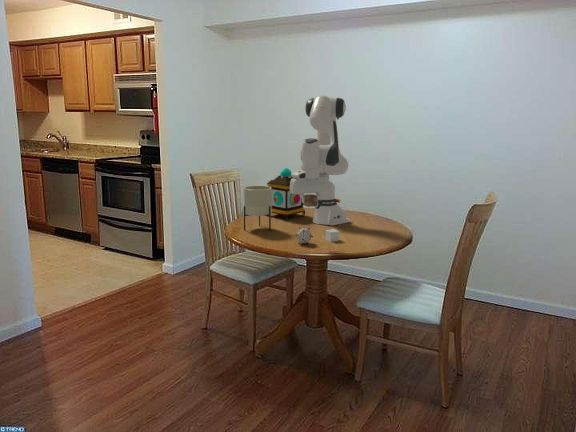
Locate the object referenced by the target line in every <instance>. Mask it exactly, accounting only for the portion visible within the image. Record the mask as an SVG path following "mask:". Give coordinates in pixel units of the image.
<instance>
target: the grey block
mask: <svg viewBox="0 0 576 432" xmlns="http://www.w3.org/2000/svg"><path fill="white" fill-rule="evenodd" d="M325 240H326V241H327V242H330V243H331V242H339V241H340V231H339V230H337V229H334V228H333V229H325Z"/></svg>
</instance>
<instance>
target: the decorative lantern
mask: <svg viewBox="0 0 576 432" xmlns="http://www.w3.org/2000/svg"><path fill="white" fill-rule="evenodd" d="M292 173H293V172H292V171H291V170H290V169H289V168H287V167H284V168H283V169H281V171H280V175H277V177H275V178H274V179H270V181H268V182H266V186H269V187H271V188H272V213H271V214H276V215H280V216H284V218H285V221H288V219H289V216H291V215H292V216H293V215H297V214H301V215H302V217H304V216H305V215H306V210H305V208H304V205H303V203H302V199H301V197H300V194H292V193H291V192H290V181H291V179H292V178H293V177H292V176H291V174H292ZM268 215H269V214H268Z"/></svg>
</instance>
